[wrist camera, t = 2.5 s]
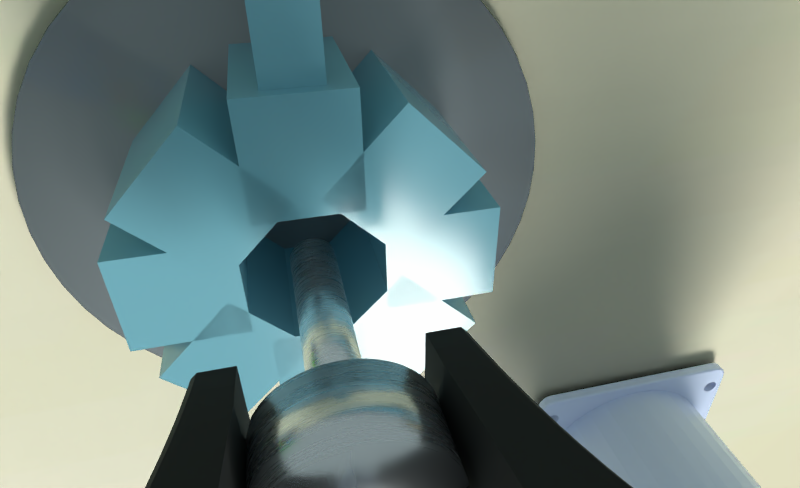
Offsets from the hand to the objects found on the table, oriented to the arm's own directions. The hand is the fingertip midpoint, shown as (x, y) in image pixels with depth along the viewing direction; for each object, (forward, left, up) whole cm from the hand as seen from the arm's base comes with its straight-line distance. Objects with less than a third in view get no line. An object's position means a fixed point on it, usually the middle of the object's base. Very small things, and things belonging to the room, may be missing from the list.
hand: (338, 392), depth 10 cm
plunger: (0, 0, -4) cm, 4 cm away
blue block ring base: (0, 0, -7) cm, 7 cm away
